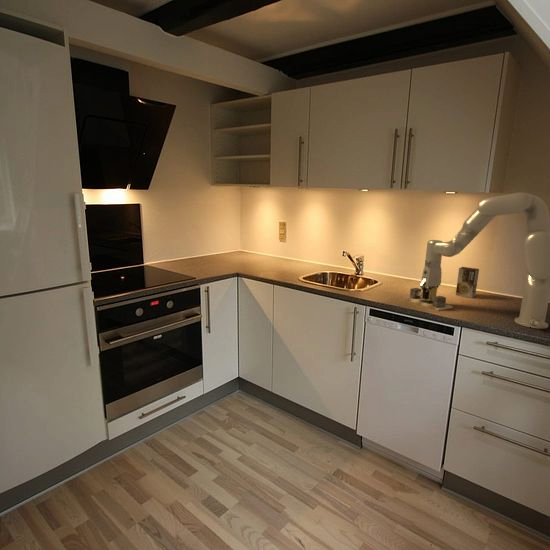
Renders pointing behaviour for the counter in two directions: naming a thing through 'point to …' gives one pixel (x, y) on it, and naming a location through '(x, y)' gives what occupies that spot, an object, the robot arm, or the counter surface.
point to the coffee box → (467, 282)
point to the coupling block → (431, 293)
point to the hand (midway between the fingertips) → (428, 297)
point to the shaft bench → (435, 304)
